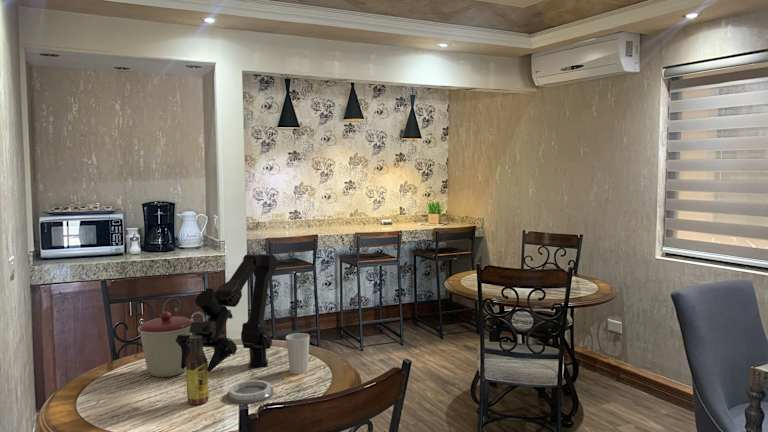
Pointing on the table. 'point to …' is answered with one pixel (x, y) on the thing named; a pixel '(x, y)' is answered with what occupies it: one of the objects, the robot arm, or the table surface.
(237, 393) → the grey shallow dish
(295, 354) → the cup
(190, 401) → the sauce bottle
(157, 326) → the canister
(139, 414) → the table surface
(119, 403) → the table surface
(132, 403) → the table surface
